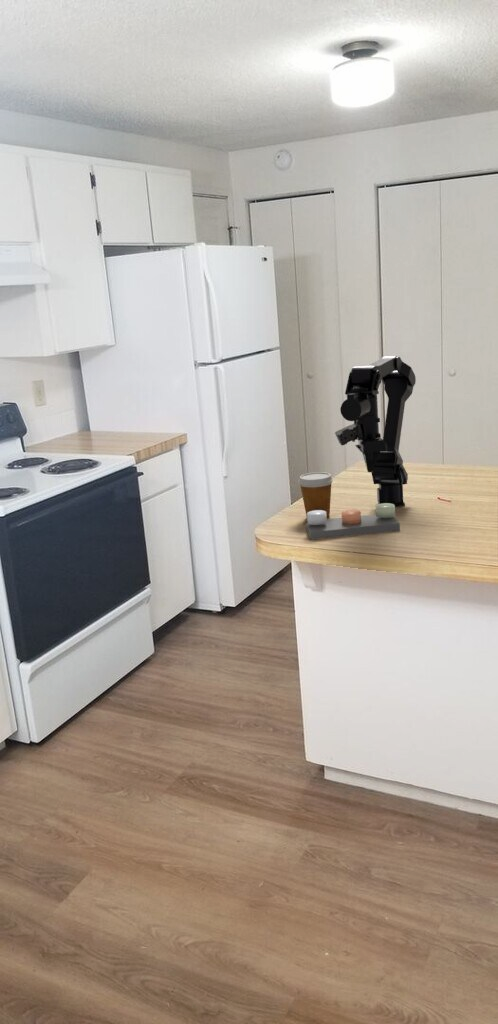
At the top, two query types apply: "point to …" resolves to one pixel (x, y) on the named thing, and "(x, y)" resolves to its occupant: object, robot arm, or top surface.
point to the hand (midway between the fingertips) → (369, 471)
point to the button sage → (385, 510)
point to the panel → (352, 527)
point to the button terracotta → (351, 517)
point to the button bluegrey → (316, 517)
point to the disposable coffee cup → (316, 491)
